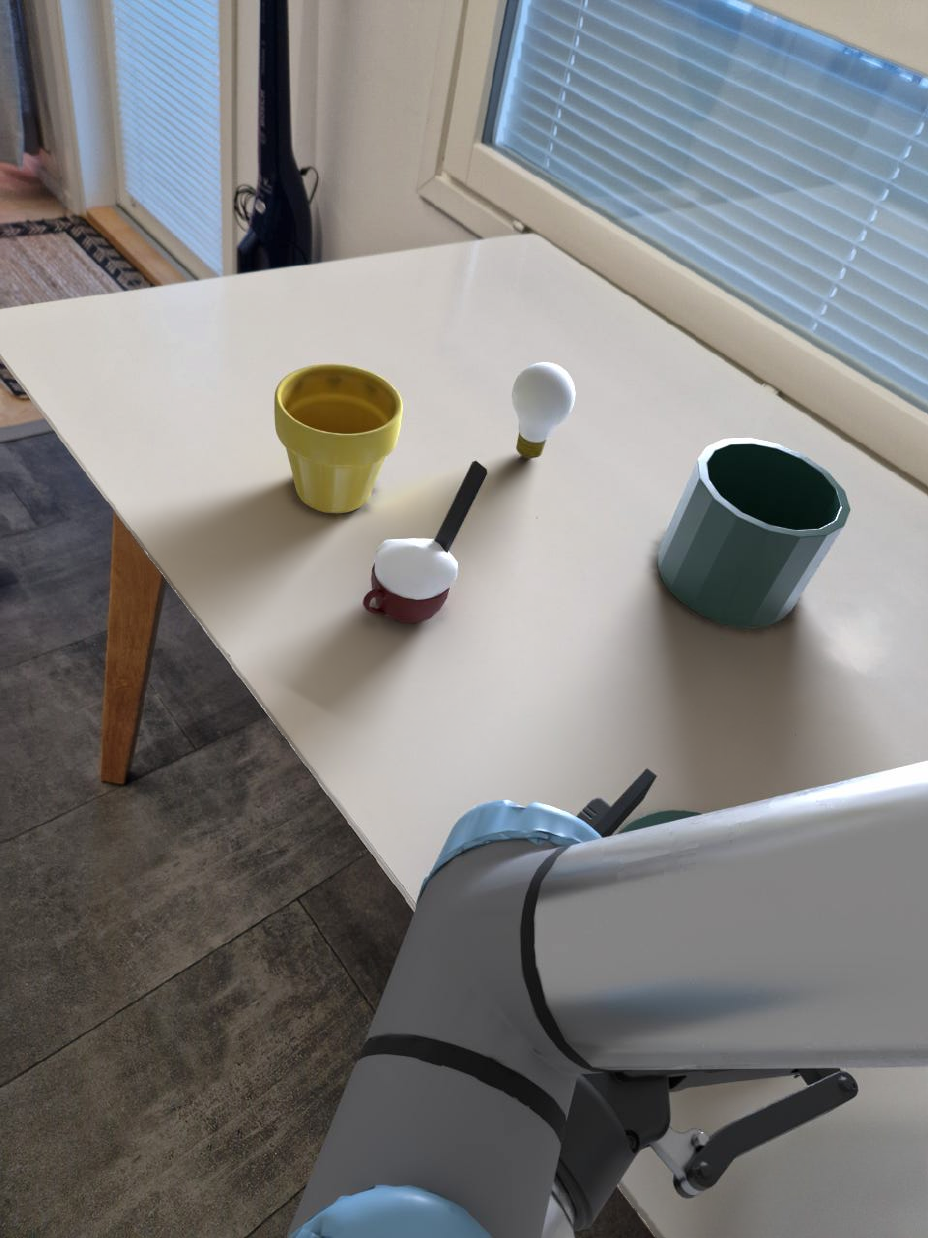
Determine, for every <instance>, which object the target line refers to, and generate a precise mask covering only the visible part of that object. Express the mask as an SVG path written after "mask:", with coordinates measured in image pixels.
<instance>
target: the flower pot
mask: <svg viewBox="0 0 928 1238" xmlns="http://www.w3.org/2000/svg"><path fill="white" fill-rule="evenodd" d="M273 401H274V402H273V403H274V404H273V405H274V406H273V409H274V411H273V413H274V428H275V432H276V435H277V438H278V440H279V442H281V444H282V445H283V446H284V447H285V451H286V453H287V459H288V462H289V467H290V470H291V474H292V478H293V483H294V487H295V491H296V495H297V496H298V498H300V501H301V502H303V503H304V504H305V505H307V506H308V507H309V508H312V509H313V510H316V511H319V512H322V513H326V514H343V513H344V514H345V513H349V512H353V511H356V510H358V509H359V508H361V507H363V506H364V505H365V504H366V503H367V502H368V500H369V499H370V497H371V494H372V492H373V489H374V486H375V484H376V482H377V479H378V476H379V474H380V472H381V469H382V467H383V465H384V461H385V459H386V458H387V457H388V456H389V455H390V454H391V453H392V452H393V451H394V449H395V448H396V446H397V444H398V441H399V436H400V432H401V426H402V418H403V410H404V409H403V408H404V405H403V400H402V397H401V395H400V393H399V392H398V390H397V389H396V388H395V386H393V384H391V382H389V381H388V380H386V379H385V378H383V377H382V376H380V375H378V374H376V373H374V372H372V371H370V370H368V369H364V368H361V367H358V366H353V365H348V364H339V363H322V364H314V365H308V366H304V367H301V368H299V369H297V370H294V371H292V372H290V373H289V374H288V375H286V376H284V377H283V379H281V381H280V382H279V383H278V385H277V386H276V388H275V392H274V398H273Z"/></svg>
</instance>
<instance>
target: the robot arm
mask: <svg viewBox="0 0 928 1238" xmlns="http://www.w3.org/2000/svg"><path fill="white" fill-rule="evenodd" d="M657 777H658V775H657V774H656V773H654V771H652V770H650V768H649V767H646V768H645V769H644V770H643V772H642V773H640V775H639V776H637V778H636V779H635V780H634V781H633V782H632V783H631V785H630V786H629V787H628V788H627V789H626V790H625V791H624V792H623V793H622V794H621V795H620V796H619V797H618V799H616V801H615V802H614V803H613V804H612V805H610V804H609V803H607V802H606V801H605V800H604V799H602V797H600V796H599V797H596V798H593V799H591V800H590V801H589V802H588V803H587V804H586V806H585V807H583V808H582V810H580V811H579V813H578V814H577V815H576V816H575V815H574V814H572V813H570V812H568V811H565V810H563V809H560V808H557V807H555V806H552V805H549V804H546V803H542V802H538V801H532V802H530V803H529V804H528V805H527V806H523V805H519V804H517V803H516V802H513V801H511V800H510V799H498V800H493V801H488V802H484V803H481V804H479V805H477V806H475V807H472V808H471V809H470V810H468V811H467V812H465V813H464V814H463V815H462V816H461V817H460V818H459V819H458V820H457V821H456V823H454V825H453V827H452V828H451V830H450V832H449V834H448V835H447V838H446V840H445V843H444V845H443V846H442V849H441V851H440V853H439V854H438V857H437V858H436V861H435V863H434V865H433V867H432V869H431V870H430V872H429V874H428V875H427V876H426V877H424V879H423V881H422V883H421V885H420V890H419V893H418V896H417V899H416V904H415V909H414V913H413V915H412V917H411V920H410V923H409V925H408V928H407V929H406V930H407V931H406V934H405V935H404V939H403V941H402V943H401V945H400V949H399V951H398V954H397V957H396V958H395V962H394V964H393V966H392V970H391V972H390V975H389V977H388V980H387V983H386V985H385V988H384V991H383V993H382V996H381V999H380V1000H379V1003H378V1005H377V1009H376V1012H375V1014H374V1016H373V1019H372V1021H371V1025H370V1027H369V1029H368V1032H367V1035H366V1036H365V1037H366V1038H365V1040H364V1042H363V1045H362V1048H361V1051H360V1053H359V1056H358V1058H357V1061H356V1063H355V1064H354V1066H353V1069H352V1071H351V1074H350V1076H349V1079H348V1081H347V1083H346V1086H345V1089H344V1091H343V1093H342V1096H341V1098H340V1101H339V1104H338V1105H337V1108H336V1111H335V1113H334V1116H333V1119H332V1121H331V1124H330V1126H329V1128H328V1131H327V1133H326V1136H325V1138H324V1141H323V1144H322V1145H321V1148H320V1151H319V1153H318V1154H317V1158H316V1161H315V1163H314V1166H313V1167H312V1171H311V1173H310V1175H309V1178H308V1181H307V1184H306V1185H305V1188H304V1191H303V1194H302V1196H301V1199H300V1201H299V1203H298V1206H297V1209H296V1211H295V1214H294V1217H293V1219H292V1222H291V1224H290V1227H289V1229H288V1231H287V1234H286V1237H285V1238H576V1235H575V1232H579V1231H581V1230H583V1231H584V1230H588V1229H590V1228H591V1227H592V1225H593V1224H594V1222H596V1219H598V1216H599V1215H600V1213H601V1211H602V1210H603V1208H604V1207H605V1205H606V1204H607V1202H608V1200H609V1199H610V1198H611V1196H612V1194H613V1193H614V1191H615V1189H616V1188H617V1186H618V1185H619V1184H620V1182H621V1180H622V1178H624V1176H625V1174H626V1173H627V1171H628V1170H629V1168H630V1167H631V1165H632V1163H633V1162H634V1160H635V1158H636V1157H637V1155H639V1153H640V1152H641V1151H642V1150H644V1149H647V1148H649V1147H650V1148H651V1149H652V1151H654V1153H655V1154H656V1155H657V1156H658V1158H659V1159H660V1160H661V1161H662V1162H663V1163H664V1164H665V1165H666V1166H667V1168H668V1169H669V1170H670V1172H672V1174H673V1175H672V1184H673V1188H674V1190H675V1191H676V1193H677V1194H678V1195H679V1196H680V1197H681V1198H684V1199H686V1200H688V1199H689V1200H690V1199H693V1198H695V1197H697V1196H699V1195H700V1194H702V1193H704V1192H706V1191H707V1190H709V1189H710V1188H713V1186H715V1185H716V1184H717V1182H718V1181H719V1180H720V1179H721V1177H723V1175H724V1174H725V1172H726V1171H727V1170H728V1169H729V1167H730V1166H731V1165H732V1163H733V1162H734V1160H735V1159H737V1158H739V1157H741V1156H743V1155H745V1154H747V1153H750V1152H751V1151H753V1150H755V1149H757V1148H759V1147H761V1146H764V1145H765V1144H768V1143H770V1142H771V1141H774V1140H776V1139H777V1138H780V1137H782V1136H783V1135H786V1134H789V1133H790V1132H792V1131H794V1130H796V1129H798V1128H800V1127H802V1126H804V1125H806V1124H809V1123H810V1122H812V1121H814V1120H816V1119H818V1118H820V1117H822V1116H825V1115H826V1114H828V1113H830V1112H832V1111H834V1110H836V1109H837V1108H839V1107H840V1106H842V1105H844V1104H846V1103H847V1102H849V1101H851V1100H853V1099H854V1098H855V1097H856V1096H858V1093H859V1086H858V1083H857V1081H856V1078H854V1076H853V1075H852V1074H850V1073H849V1072H847V1071H844V1070H842V1069H859V1068H860V1069H863V1068H864V1069H866V1068H867V1069H868V1068H871V1069H875V1068H876V1069H877V1068H879V1069H880V1068H885V1069H886V1068H928V760H925V761H921V762H917V763H913V764H909V765H904V766H900V767H896V768H891V769H887V770H883V771H879V772H875V773H870V774H866V775H862V776H858V777H853V778H849V779H846V780H845V779H844V780H841V781H837V782H832V783H829V784H824V785H820V786H816V787H812V788H806V789H802V790H798V791H795V792H791V793H786V794H782V795H778V796H774V797H769V798H765V799H761V800H757V801H753V802H748V803H745V804H744V803H743V804H740V805H736V806H732V807H727V808H723V809H718V810H714V811H711V812H706V813H702V815H697V816H693V817H689V818H685V819H680V820H676V821H672V822H668V823H664V824H659V825H655V826H651V827H647V828H643V829H638V830H634V831H630V832H626V833H621V834H618V833H616V834H614V833H615V832H616V831H617V830H618V829H619V828H620V827H621V825H622V824H623V823H624V822H625V821H626V820H627V819H628V817H630V815H631V814H632V813H633V812H634V811H635V810H636V809H637V808H638V806H639V805H640V804H642V802H643V801H644V800H645V798H646V796H647V794H648V792H649V791H650V789H651V788H652V787H653V784H654V782H655V781H656V779H657ZM791 1076H793V1078H794V1079H798V1078H800V1077H801V1079H802V1080H803V1081H804V1083H805V1084H806V1086H805V1087H802V1088H800V1089H798V1090H796V1091H794V1092H792V1093H790V1094H788V1095H785V1096H783V1097H781V1098H779V1099H777V1100H774V1101H773V1102H771V1103H769V1104H767V1105H764V1106H762V1107H760V1108H758V1109H756V1110H754V1111H752V1112H750V1113H747V1114H745V1115H743V1116H741V1117H739V1118H737V1119H736V1120H733V1121H731V1122H729V1123H727V1124H725V1125H724V1126H722V1127H720V1128H719V1129H718V1130H716V1131H715V1132H714V1133H712V1134H711V1135H708V1133H707V1132H705V1131H704V1130H703V1129H701V1128H699V1127H691V1128H689V1129H687V1130H686V1131H683V1132H682V1131H677V1130H676V1129H674V1128H673V1127H672V1126H671V1118H672V1116H671V1115H672V1113H671V1100H670V1098H671V1097H670V1093H677V1092H680V1091H683V1090H686V1089H690V1088H698V1087H705V1086H713V1085H714V1086H715V1085H722V1084H723V1085H724V1084H730V1083H741V1082H747V1081H755V1080H764V1079H773V1078H782V1077H791Z"/></svg>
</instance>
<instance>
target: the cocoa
mask: <svg viewBox="0 0 928 1238" xmlns="http://www.w3.org/2000/svg"><path fill="white" fill-rule="evenodd" d="M487 476H488V469H487V468H486V467H485V466H484V465H483V464H481V463H480V462H478V461H477V460H473V461H471V463H470V465H469V468H468V470H467V471H466V474H465V475H464V478H463V480H462V482H461V484H460V486H459V488H458V490H457V492H456V494H455V496H454V498H453V500H452V502H451V504H450V506H449V508H448V511H447V513H446V515H445V516H444V519H443V521H442V523H441V525H440V527H439V529H438V531H437V533H436V535H435V537H434V538H414V537H413V538H410V537H409V538H395V539H394V538H393V539H391V538H390V539H385V540H384V541H383V542H382V543H381V544H380V545H379V546H378V548H377V549H376V550H375V553H374V554H375V555H374V563H373V565H372V568H371V575H370V583H371V590H369V591H368V592H367V593H366V594H365V595H364V597H363V599H362V606H363V607H364V609H365V610H366V611H367V612H369V613H370V614H373V615H376V616H381V617H383V616H386V617H388V618H391V619H392V620H395V621H398V622H400V623H405V624H406V623H407V624H417V623H421V622H424V621H427V620H429V619H431V618H433V617H434V616H435V615H436V614H437V613H438V612H440V610H441V608H442V607H443V606H444V604H445V603H446V601H447V599H448V596H449V593H450V589H451V587H453V586H454V585H455V584H456V581H457V576H458V568H459V567H458V561H457V560H456V559H455V557H454V556H453V555H452V554H451V553H450V549H451V548H452V545H453V543H454V541H455V540H456V537H457V536H458V533H459V532H460V530H461V527H462V526H463V524H464V522H465V520H466V518H467V516H468V514H469V512H470V510H471V508H472V506H473V503H474V502H475V500H476V498H477V496H478V494H479V491H480V490H481V488H482V486H483V484H484V481H485V480H486V477H487ZM373 600H375V603H376V606H377V607H373V606H371V602H372V601H373Z"/></svg>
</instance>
